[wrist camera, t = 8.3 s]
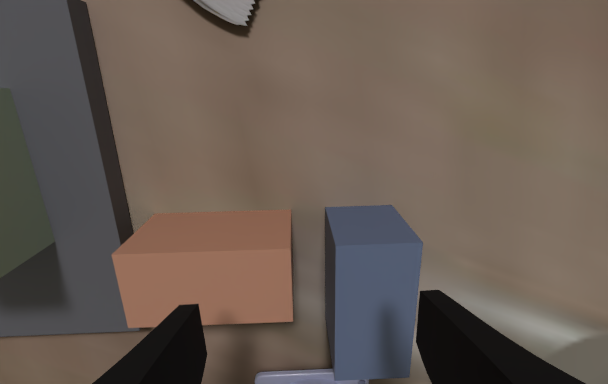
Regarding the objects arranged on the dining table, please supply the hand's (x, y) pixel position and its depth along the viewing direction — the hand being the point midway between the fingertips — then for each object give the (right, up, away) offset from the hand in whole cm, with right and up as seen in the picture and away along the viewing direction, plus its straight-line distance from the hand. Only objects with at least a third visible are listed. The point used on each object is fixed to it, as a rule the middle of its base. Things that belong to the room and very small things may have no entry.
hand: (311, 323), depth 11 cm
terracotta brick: (-5, +1, +9) cm, 11 cm away
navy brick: (+3, 0, +10) cm, 11 cm away
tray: (-16, +5, +8) cm, 18 cm away
